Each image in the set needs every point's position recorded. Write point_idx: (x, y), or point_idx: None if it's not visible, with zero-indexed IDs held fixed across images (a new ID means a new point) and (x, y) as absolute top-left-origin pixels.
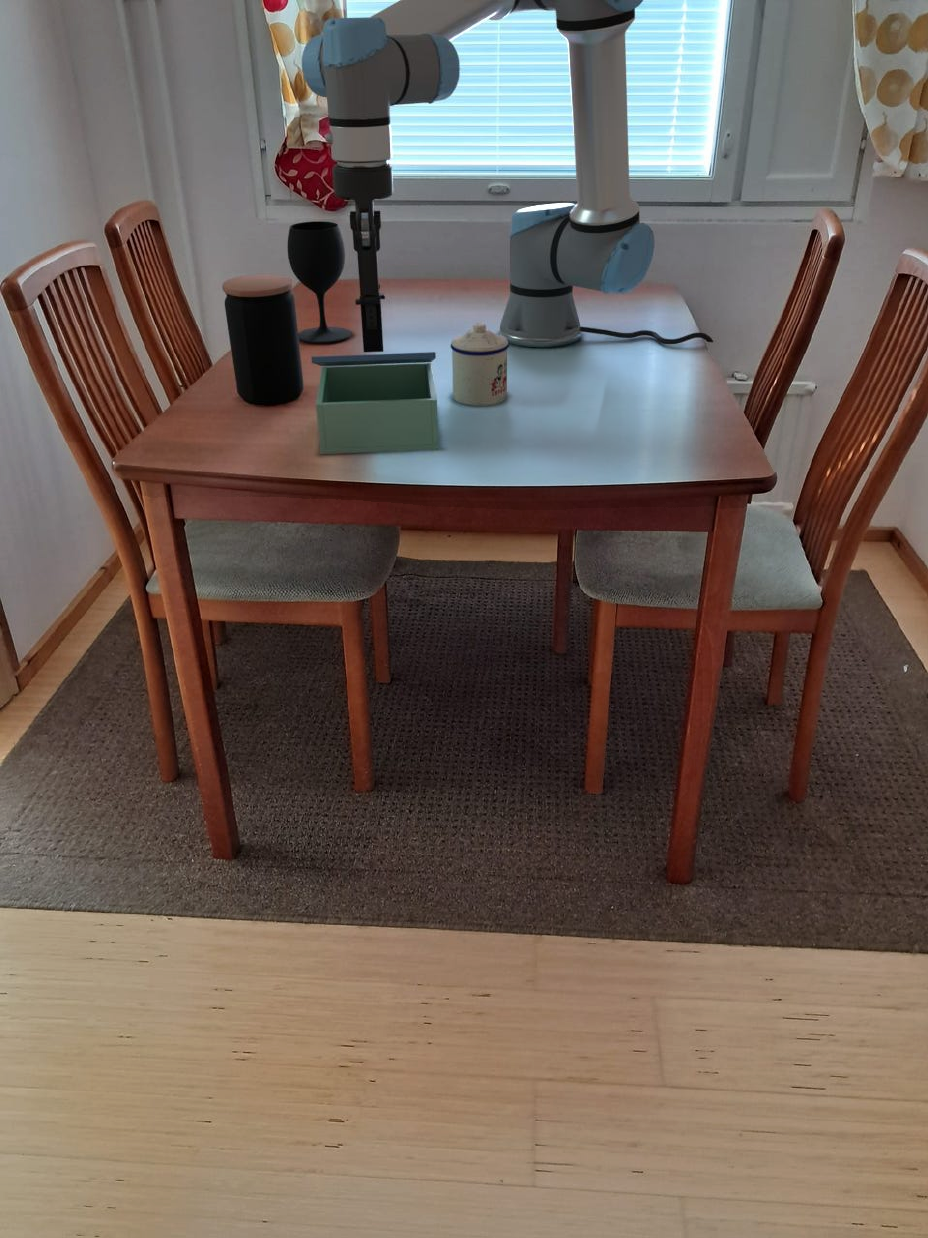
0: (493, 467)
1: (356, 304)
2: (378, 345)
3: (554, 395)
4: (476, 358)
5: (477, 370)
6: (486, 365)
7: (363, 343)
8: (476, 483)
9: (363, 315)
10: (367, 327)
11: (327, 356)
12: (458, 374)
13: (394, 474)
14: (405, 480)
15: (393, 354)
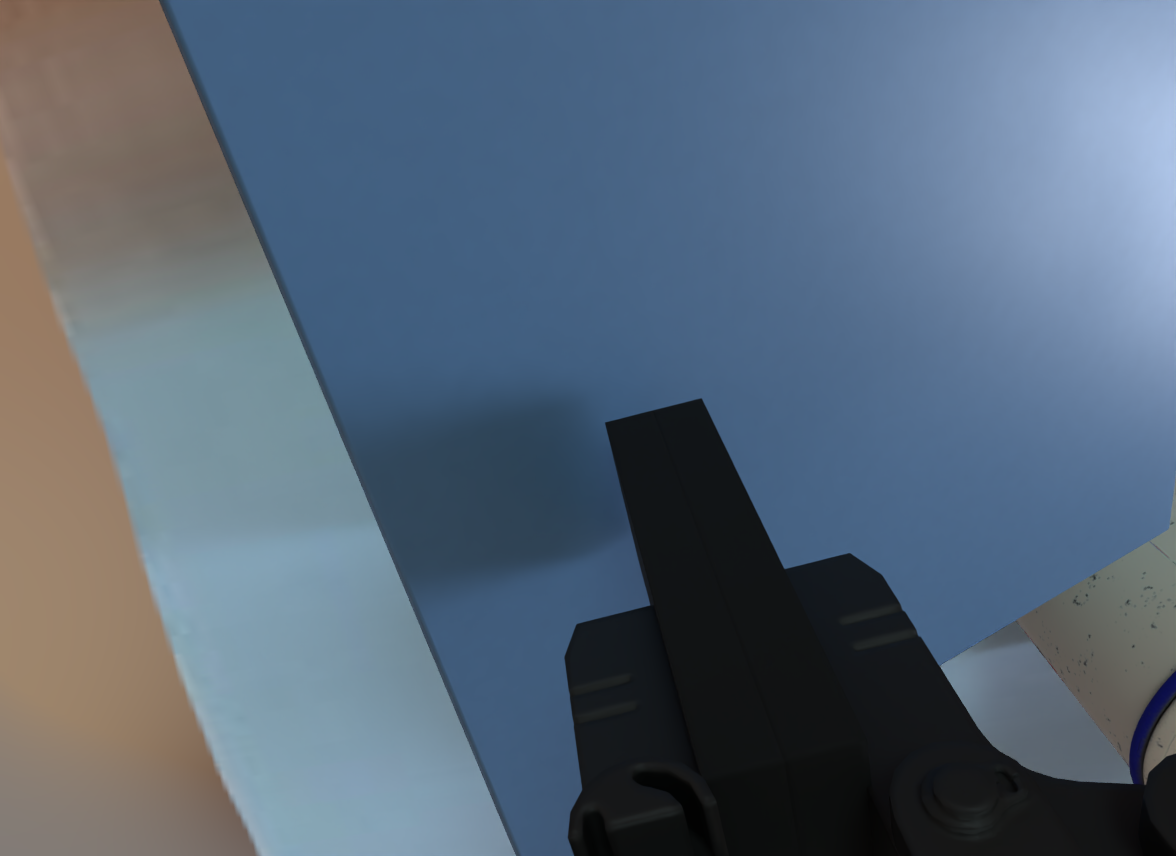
0: (364, 711)
1: (596, 785)
2: (640, 565)
3: (1082, 760)
4: (1127, 711)
5: (1089, 669)
6: (1100, 718)
7: (617, 468)
8: (201, 690)
9: (674, 679)
10: (568, 649)
11: (240, 180)
12: (1130, 562)
13: (179, 399)
14: (132, 457)
15: (454, 700)
